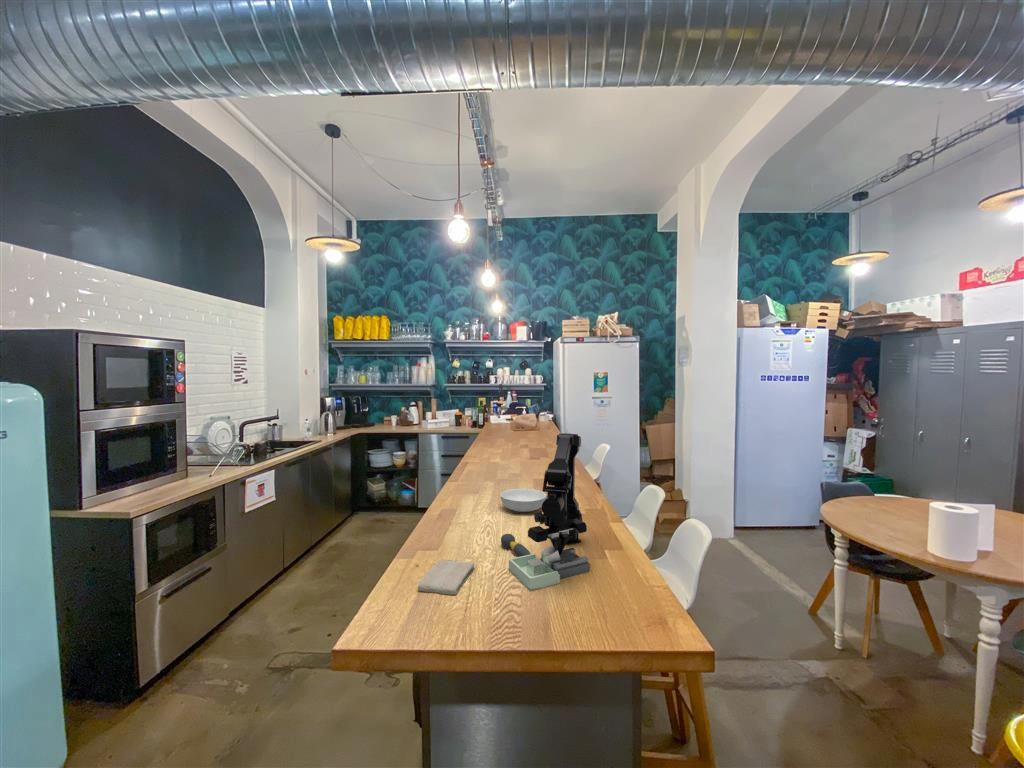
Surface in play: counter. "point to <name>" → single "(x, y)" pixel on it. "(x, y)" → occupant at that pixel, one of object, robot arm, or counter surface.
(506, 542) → the paintbrush
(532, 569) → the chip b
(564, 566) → the slot board
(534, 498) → the serving bowl
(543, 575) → the chip tray
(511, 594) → the counter surface
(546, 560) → the grey cube
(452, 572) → the washcloth
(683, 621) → the counter surface
